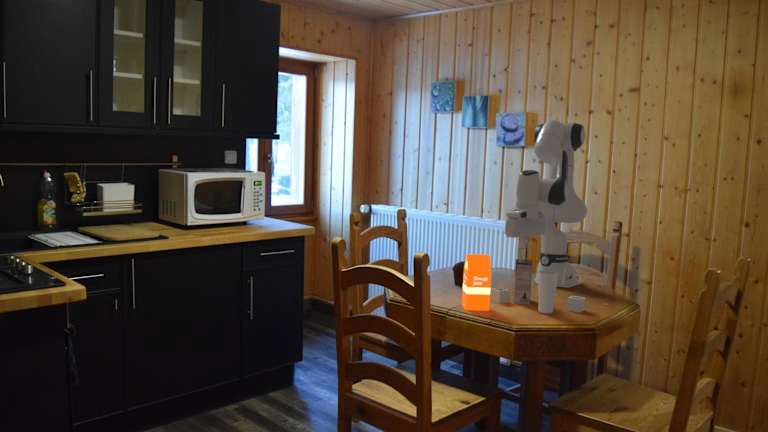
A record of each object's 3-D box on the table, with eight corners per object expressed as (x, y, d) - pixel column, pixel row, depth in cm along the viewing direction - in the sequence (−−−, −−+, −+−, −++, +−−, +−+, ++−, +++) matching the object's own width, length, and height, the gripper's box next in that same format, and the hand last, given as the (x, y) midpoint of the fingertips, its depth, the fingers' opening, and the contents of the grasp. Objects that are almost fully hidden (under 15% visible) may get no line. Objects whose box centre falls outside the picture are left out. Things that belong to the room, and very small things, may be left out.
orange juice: (489, 310, 238) (492, 256, 236) (465, 310, 237) (468, 256, 235) (484, 305, 246) (487, 253, 244) (461, 305, 245) (464, 252, 243)
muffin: (479, 283, 287) (480, 261, 286) (477, 288, 276) (478, 265, 275) (452, 281, 290) (454, 259, 289) (449, 285, 279) (450, 262, 278)
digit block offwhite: (571, 308, 247) (572, 295, 246) (584, 310, 244) (585, 297, 244) (566, 310, 243) (567, 297, 242) (579, 313, 240) (580, 299, 240)
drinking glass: (533, 310, 241) (536, 270, 240) (551, 310, 242) (554, 270, 240) (539, 314, 235) (542, 273, 233) (557, 315, 235) (560, 274, 234)
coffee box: (513, 298, 260) (515, 258, 258) (529, 299, 259) (532, 259, 257) (513, 303, 251) (515, 262, 249) (530, 304, 250) (532, 263, 248)
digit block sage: (501, 300, 256) (501, 287, 256) (509, 303, 252) (510, 289, 251) (490, 301, 254) (491, 288, 253) (499, 304, 249) (499, 290, 249)
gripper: (537, 210, 261) (535, 244, 262) (503, 212, 248) (501, 248, 250) (550, 212, 256) (548, 246, 257) (516, 214, 243) (514, 250, 245)
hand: (524, 247), depth 253 cm, fingers closed
